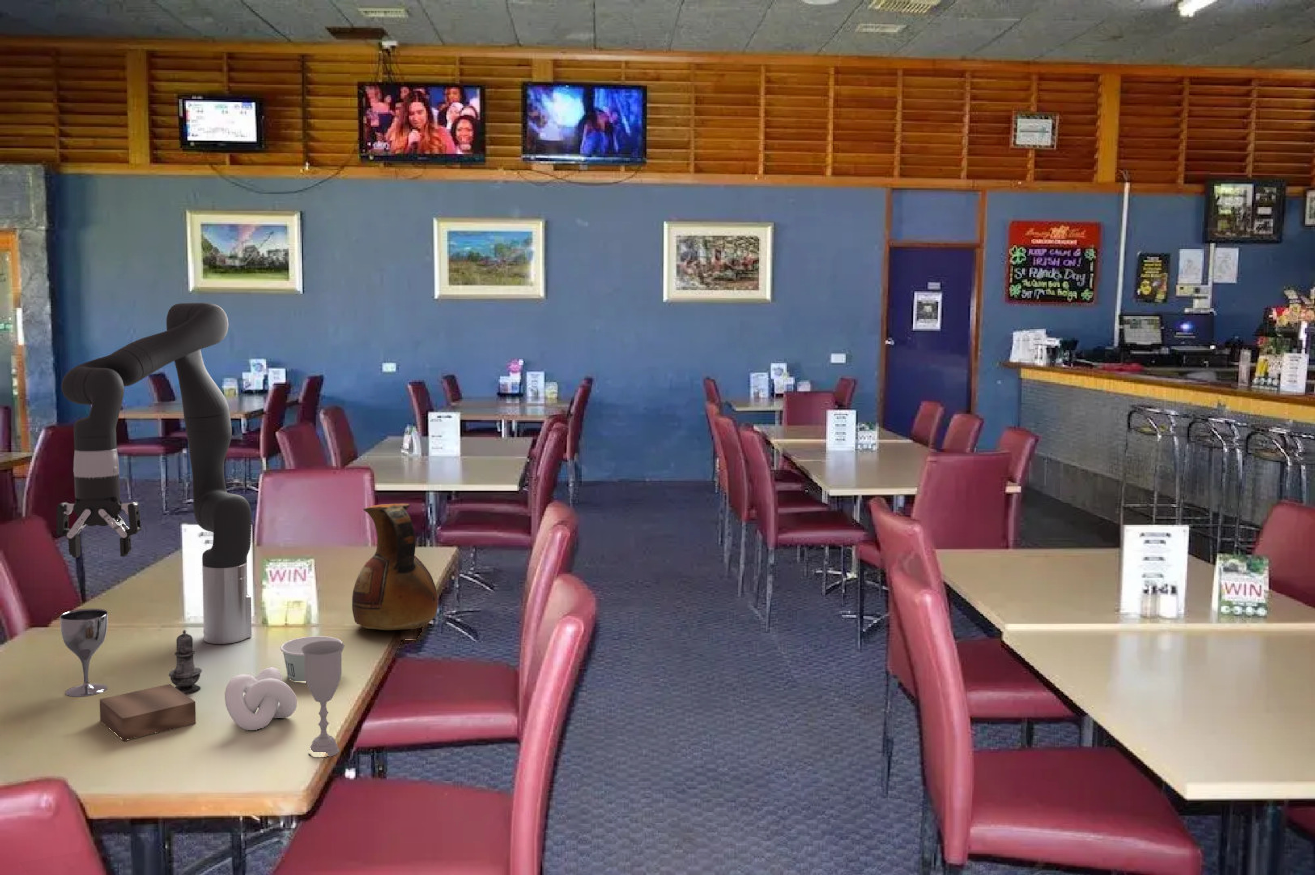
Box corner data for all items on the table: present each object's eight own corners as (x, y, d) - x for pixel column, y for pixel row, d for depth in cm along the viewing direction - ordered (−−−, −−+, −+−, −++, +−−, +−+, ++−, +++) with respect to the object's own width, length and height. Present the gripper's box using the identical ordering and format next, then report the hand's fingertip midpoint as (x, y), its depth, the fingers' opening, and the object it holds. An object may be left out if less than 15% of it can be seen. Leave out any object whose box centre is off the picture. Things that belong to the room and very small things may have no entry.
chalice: (308, 743, 174) (307, 640, 172) (349, 742, 175) (348, 640, 173) (297, 761, 167) (296, 654, 165) (339, 760, 168) (338, 654, 166)
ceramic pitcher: (411, 611, 255) (411, 493, 252) (453, 630, 240) (454, 505, 237) (337, 625, 242) (336, 501, 239) (377, 646, 227) (377, 514, 224)
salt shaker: (189, 696, 194) (187, 635, 193) (162, 693, 195) (160, 632, 194) (208, 686, 200) (207, 626, 198) (182, 683, 201) (180, 624, 200)
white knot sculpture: (250, 742, 174) (250, 691, 173) (207, 726, 180) (206, 677, 180) (305, 721, 184) (304, 673, 183) (262, 707, 190) (261, 660, 189)
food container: (354, 676, 208) (353, 645, 207) (298, 690, 199) (298, 658, 198) (324, 662, 216) (323, 632, 215) (269, 675, 207) (269, 644, 206)
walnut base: (170, 704, 190) (169, 684, 189) (195, 723, 181) (195, 701, 181) (100, 721, 181) (99, 699, 181) (123, 741, 173) (122, 718, 172)
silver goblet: (61, 700, 190) (58, 622, 189) (63, 686, 198) (61, 611, 196) (109, 694, 194) (107, 617, 193) (110, 680, 201) (108, 606, 200)
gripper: (143, 469, 198) (146, 551, 200) (64, 469, 196) (68, 552, 198) (130, 475, 191) (133, 560, 192) (47, 475, 188) (51, 561, 190)
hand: (100, 556), depth 195 cm, fingers open, 8 cm apart
